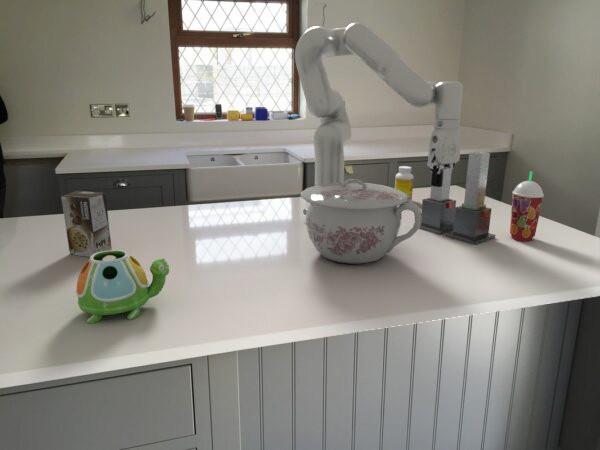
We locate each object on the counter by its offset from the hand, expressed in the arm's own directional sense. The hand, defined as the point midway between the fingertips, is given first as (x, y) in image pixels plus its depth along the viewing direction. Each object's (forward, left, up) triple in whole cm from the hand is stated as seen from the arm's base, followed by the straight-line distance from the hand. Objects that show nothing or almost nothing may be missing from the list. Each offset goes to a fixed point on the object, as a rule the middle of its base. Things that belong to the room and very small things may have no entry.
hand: (440, 184), depth 154 cm
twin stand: (0, -12, -14) cm, 18 cm away
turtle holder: (-98, +4, -14) cm, 99 cm away
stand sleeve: (0, 0, -14) cm, 14 cm away
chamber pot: (-39, -2, -14) cm, 41 cm away
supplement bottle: (+19, +30, -14) cm, 38 cm away
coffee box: (-93, +42, -14) cm, 103 cm away
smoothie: (+11, -22, -14) cm, 28 cm away
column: (0, 0, -13) cm, 13 cm away
